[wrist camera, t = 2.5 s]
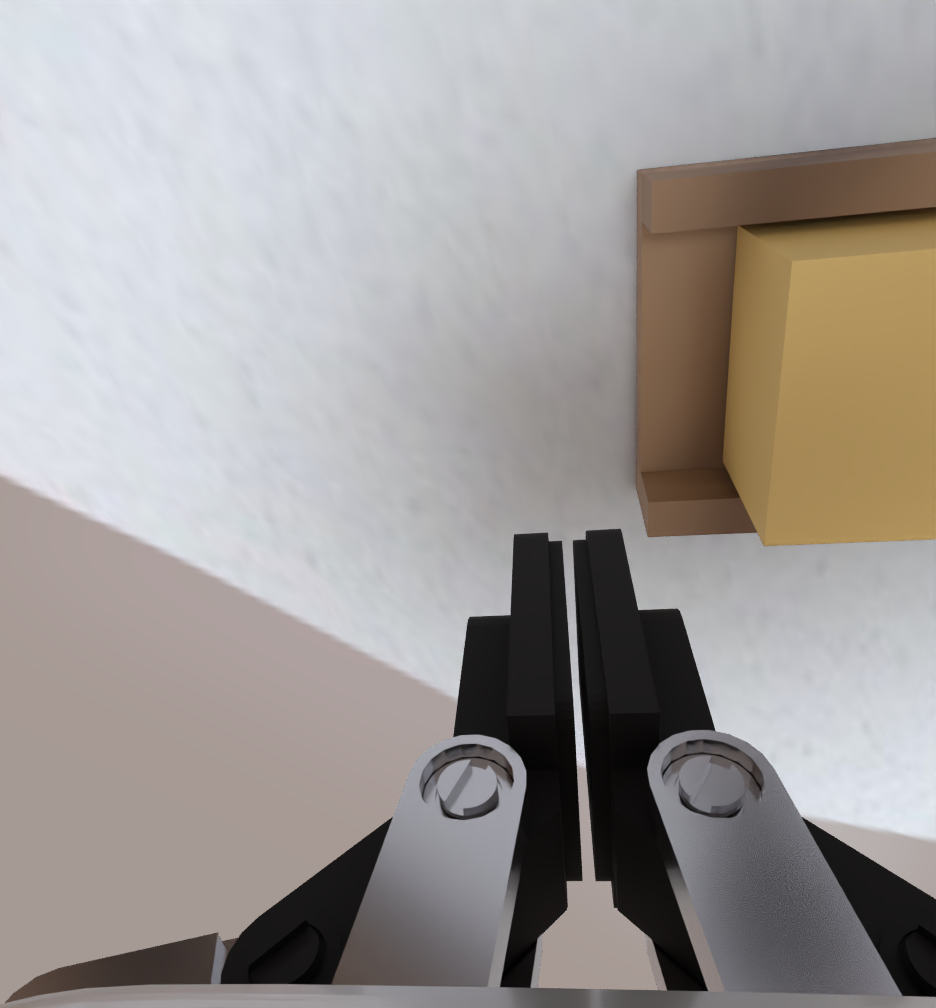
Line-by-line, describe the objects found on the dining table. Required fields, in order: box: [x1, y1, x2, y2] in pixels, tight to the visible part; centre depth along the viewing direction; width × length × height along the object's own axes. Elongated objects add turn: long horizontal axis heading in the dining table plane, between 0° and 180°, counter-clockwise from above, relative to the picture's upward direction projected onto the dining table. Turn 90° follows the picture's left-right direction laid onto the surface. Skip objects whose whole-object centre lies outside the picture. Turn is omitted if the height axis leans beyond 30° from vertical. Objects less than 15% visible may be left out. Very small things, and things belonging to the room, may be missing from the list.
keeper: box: [723, 207, 936, 546], centre depth 19 cm, size 5×7×5 cm
